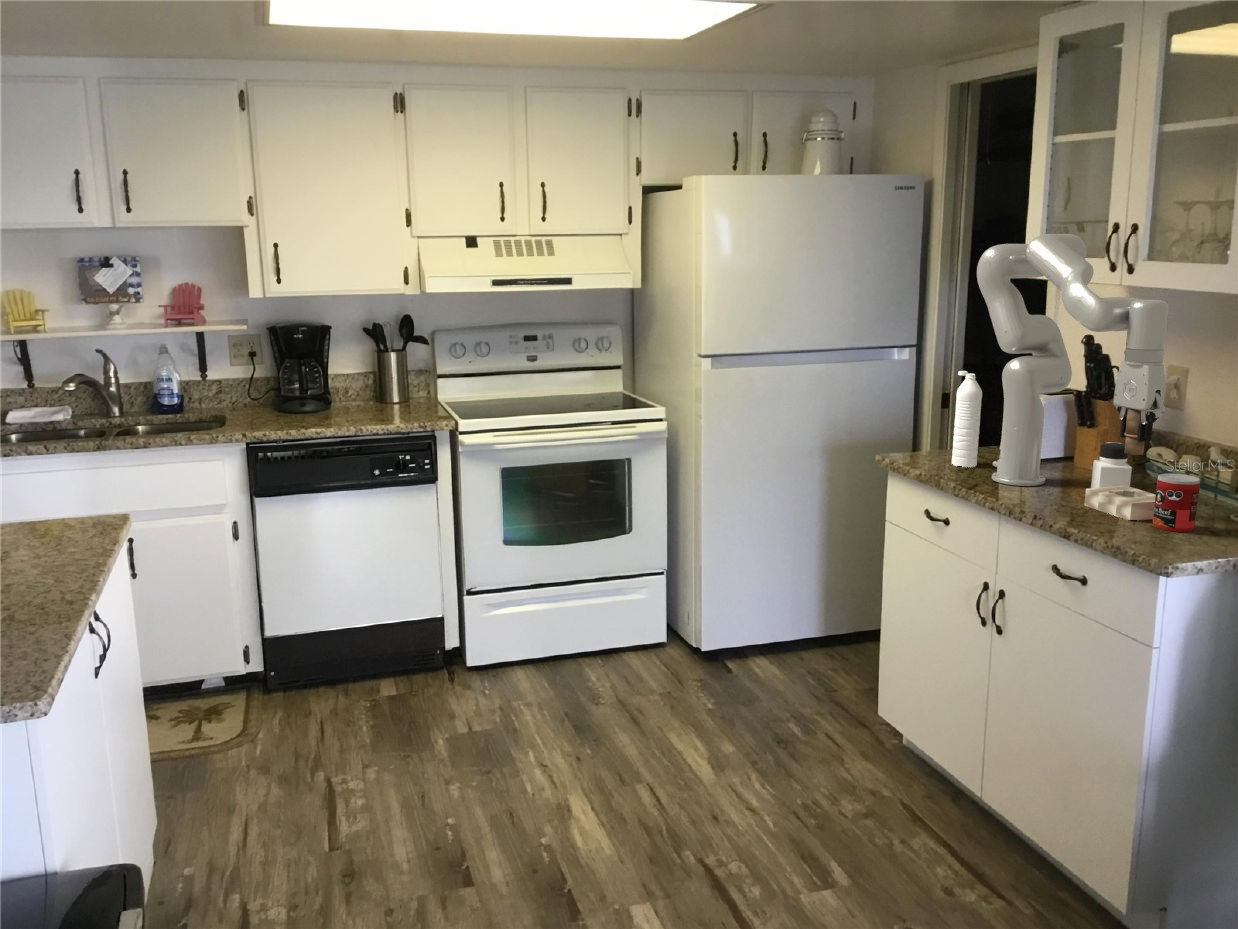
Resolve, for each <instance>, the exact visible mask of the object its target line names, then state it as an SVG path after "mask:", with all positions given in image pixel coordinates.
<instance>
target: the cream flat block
mask: <svg viewBox="0 0 1238 929" xmlns="http://www.w3.org/2000/svg"><path fill="white" fill-rule="evenodd" d="M1155 496H1156V493H1155V494H1154V493H1151V492H1149V491H1145V490H1142V489H1139V488H1135V487H1132V486H1130V487H1129V486H1126V485H1125V486H1112V487H1100V488H1091V487H1089V488H1085V496H1084V497H1085V498H1084V506H1085V507H1087V508H1091V509H1094V510H1097V511H1100V512H1101V513H1105V514H1108V513H1109V514H1108V515H1111V516H1113V515H1114V516H1113V517H1117V518H1119V517H1120V519H1122V518H1123V520H1125V521H1128V520H1137V521H1145V520H1146V521H1147V520H1153V514H1154V505H1155Z"/></svg>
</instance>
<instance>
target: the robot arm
mask: <svg viewBox="0 0 1238 929" xmlns="http://www.w3.org/2000/svg"><path fill="white" fill-rule="evenodd" d="M1087 254H1088V251H1087V246H1086V244H1085V242H1084V240H1083V239H1082V238H1081V237H1080V236H1078V235H1076V234H1073V233H1045V234H1040V235H1037V236H1036V237H1034V238H1033V239H1031V241H1029V243H1004V244H1003V243H1002V244H996V245H993V246H991V247H989V248H988V249H986V250H985V251H984V252H983V254H982V255H981V256H980V258H979V260H978V263H977V266H976V278H977V284H978V286H979V287H978V288H979V290H980V292H981V294H982V296H983V298H984V301H985V304H986V307H987V309H988V313H989V317H990V320H991V323H992V328H993V330H994V334H995V336H996V340H997V343H998V346H999V347H1000V349H1001V350H1002V351H1003V352H1005V353H1007V354H1012V355H1014V354H1017V355H1018V354H1032V355H1025V356H1019V357H1015V358H1013V359H1011V360H1010V361H1008V362H1007V363H1006V365H1005V366H1004V367H1003V370H1002V374H1001V380H1002V389H1003V398H1004V399H1003V416H1002V417H1003V418H1002V427H1001V428H1002V430H1001V442H1000V453H999V459H997V460H994V461H993V462H992V466H994V467H995V468H997V469H996V471H995V472H993V473H992V474H991V479H992V480H993V482H994V481H995V482H996V483H1001V484H1004V485H1009V486H1019V487H1020V486H1021V487H1036V486H1041V485H1044V484H1045V483H1046V478H1045V477H1044V476H1043V475H1040V466H1041V454H1042V444H1043V436H1044V435H1043V434H1044V433H1043V432H1044V422H1045V409H1044V408H1045V407H1044V404H1043V402H1042V399H1041V396H1040V395H1041V394H1051V393H1059V392H1061V391H1064V390H1065V389H1066V388H1067V387H1068V386H1069V385H1070V383H1071V381H1072V374H1073V372H1072V366H1071V361H1070V358H1069V355H1068V352H1067V348H1066V345H1065V342H1064V339H1063V336H1062V332H1061V330H1060V326H1058V324H1057V323H1056V321H1055V320H1054V319H1053V318H1051V317H1050V316H1048V315H1044V314H1030V313H1029V312H1028V309H1027V308H1026V305H1025V301H1024V298H1023V296H1022V294H1021V292H1020V291H1019V289H1018V288H1017V287H1016V286H1015V285H1014V284H1013V282H1011V279H1031V278H1032V279H1034V278H1035V279H1036V278H1041V277H1045V279H1047V280H1048V282H1050V283H1051V284H1052V285H1054V286H1055V287H1056V288H1057V289H1059V290H1060V292H1061V300H1062V303H1063V306H1064V309H1065V310H1066V312H1067V313H1068V315H1070V316H1071V317H1072V318H1073V319H1074V320H1075V321H1076V322H1078V323H1079V324H1080V325H1081V326H1082V327H1083V328H1085V329H1087V330H1089V331H1091V332H1094V333H1106V332H1126V341H1125V349H1124V351H1123V355H1124V360H1123V361H1121V363H1120V366H1119V368H1118V369H1119V370H1118V372H1117V377H1116V382H1115V386H1114V387H1115V388H1114V394H1113V400H1112V405H1113V406H1114V407H1115V408H1116V410H1117V413H1118V414H1119V420H1121V422H1120V432H1119V438H1122V439H1123V438H1124V439H1126V436H1125V435H1124V434H1125V431H1126V422H1127V412H1128V408H1130V409H1135V410H1141V421H1142V423H1141V424H1139V429H1138V439H1137V440H1138V441H1139V442H1145V443H1147V442H1151V441H1152V438H1153V428H1154V427H1153V426H1154V424H1156V423H1157V420H1158V419H1159V418H1160V417H1162V416H1163V415H1165V414H1166V413H1167V410H1166V407H1165V405H1164V399H1165V381H1166V380H1165V366H1164V364H1163V362H1164V354H1165V344H1166V335H1167V325H1168V314H1169V304H1168V303H1167V301H1165V300H1160V299H1140V298H1136V297H1131V296H1117V297H1114V296H1111V297H1102V296H1099V295H1098V294H1097V293H1095V292H1094V291H1093V290H1091V289H1090V288H1089V287H1088V285H1089V283H1090V282H1091V281H1092V278H1093V276H1094V271H1095V270H1094V267H1093V265H1092V264H1091V263H1090V262H1089V261H1087V259H1086V258H1087ZM1147 412H1149V415H1148V416H1147Z"/></svg>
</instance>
